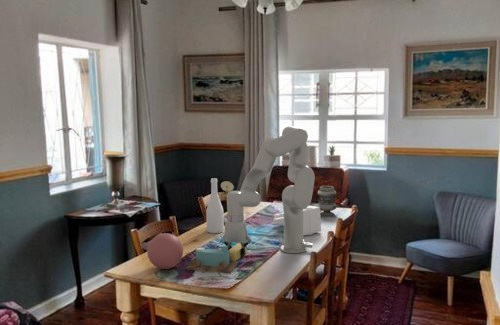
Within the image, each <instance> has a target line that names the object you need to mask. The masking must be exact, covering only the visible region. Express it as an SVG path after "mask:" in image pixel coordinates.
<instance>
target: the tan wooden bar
mask: <svg viewBox="0 0 500 325" xmlns="http://www.w3.org/2000/svg"><path fill="white" fill-rule="evenodd" d="M241 248H242V246H241V243H235V244H234V246H232V248H231V249H230V250H229V256H232V261H236V260H237V261H238V260H239V259H241V258H242V257H241ZM247 248H248V245H247V246H246V247H245V254H247V252H248V249H247Z"/></svg>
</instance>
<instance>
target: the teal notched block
mask: <svg viewBox="0 0 500 325" xmlns="http://www.w3.org/2000/svg"><path fill="white" fill-rule="evenodd" d="M222 248H223V249H211V248H205V247H198V248H196V251H195V257H196V260H197V261H200V262H201V265H204V266H218V267H219V263H220V262H226V263H227V266H228V265H229V264H230V260H229V250H228V246H226V245H225V246H224V245H223V246H222Z"/></svg>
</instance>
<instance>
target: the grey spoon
mask: <svg viewBox="0 0 500 325" xmlns="http://www.w3.org/2000/svg"><path fill="white" fill-rule="evenodd" d="M219 186H220V188H221V189H222V191H225V193H223V194H221V195H220V197H223V198H227V193H228V192H230V191H234V188H235V186H234V185H233V183H232V182H230V181H227V180H226V181H222V182H221V183H220V185H219ZM225 215H227V213H226V214H225ZM226 221H227V218H225V217H224V224H225V223H226Z"/></svg>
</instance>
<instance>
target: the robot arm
mask: <svg viewBox="0 0 500 325" xmlns="http://www.w3.org/2000/svg"><path fill="white" fill-rule="evenodd" d="M308 138H309V135H308V132H307V130H306V129H305V128H303V127H300V126H294V125H293V126H291V125H289V126H286V127H284V128H283V130H282V132H281V136H278V137H273V136H270V137H266V138H265V139H264V140H263V142H262V144H261V147H260V148H259V151H258V154H257V156H256V159H255V162H254V164H253V167H252V168H251V169H250V170H249V172H248V173H247V175H246V176H245V178H244V179H243V181H242V184H241V187H240V190H231V191H227V196H226V210H227V211H226V214H227V215H226V214H224V217H225V218H227V221H226V223H225V222H224V235H223V237H221V239H220V241H221V242H222V243H223V244H224V245H225V246H228V250H230V249H231V248H232V247H233V246H232V244H238V243H241V246H242V248H241V257H240V258H243V257H244V256H245V255H246V253H245V247H246V246H247V247H248V245H250V244H251V243H252V241H253V240H252V239H251V237H250V236H249V235H248V228H247V223H246V220H245V219H244V218H245V214H244V212H245V211H244V207H245V208H256V207H258V206H259V205H260V204H261V202H262V196H261V195H260V193H259V192H257V191H256V190H257V188H258V185H259V184H260V182H261V181H262V180H263V179H264V178H266V177H267V176H269V175H270V174H271V172H272V171H273V167H274V164H275V162H276V160H277V158H278V157H282V156H285V155H287V154H289V153H290V157H289V164H288V169H287V178H288V180H289V181H290V182H291V183H294V184H293V185H292V184H290V185H288V186H286V187H285V188H284V189H283V190H282V193H281V199H282V207H283V209H282V210H283V212H284V223H283V244H282V245H281V246H280V250H281V252H283V253H286V254H292V255H293V254H301V253H306V251H307V248H309V249H312V248H313V243H311V242H306V241H305V239H304V236H303V209H305V208H307V207H308V206H311V205H310V204H311V203H312V200H313V199H312V198H313V192H314V187H315V180H316V179H315V178H316V177H315V173H314V170H313V168H312V167H310V166H308V163H309V162H308V161H309V147H308V144H307V142H308Z"/></svg>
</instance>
